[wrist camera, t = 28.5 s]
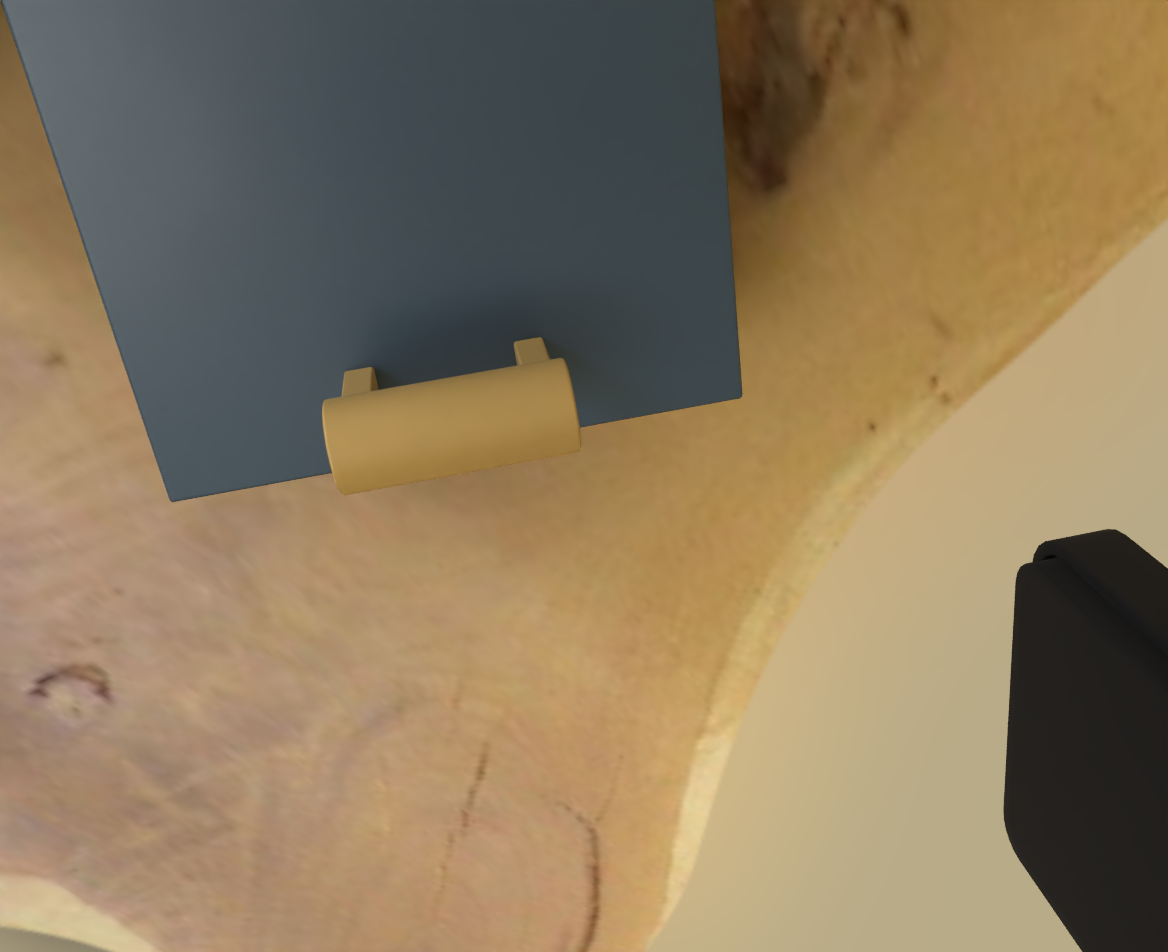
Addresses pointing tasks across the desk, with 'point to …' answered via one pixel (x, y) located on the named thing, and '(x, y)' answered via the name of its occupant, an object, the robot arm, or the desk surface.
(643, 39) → the chest lid
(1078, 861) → the robot arm
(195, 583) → the desk surface
